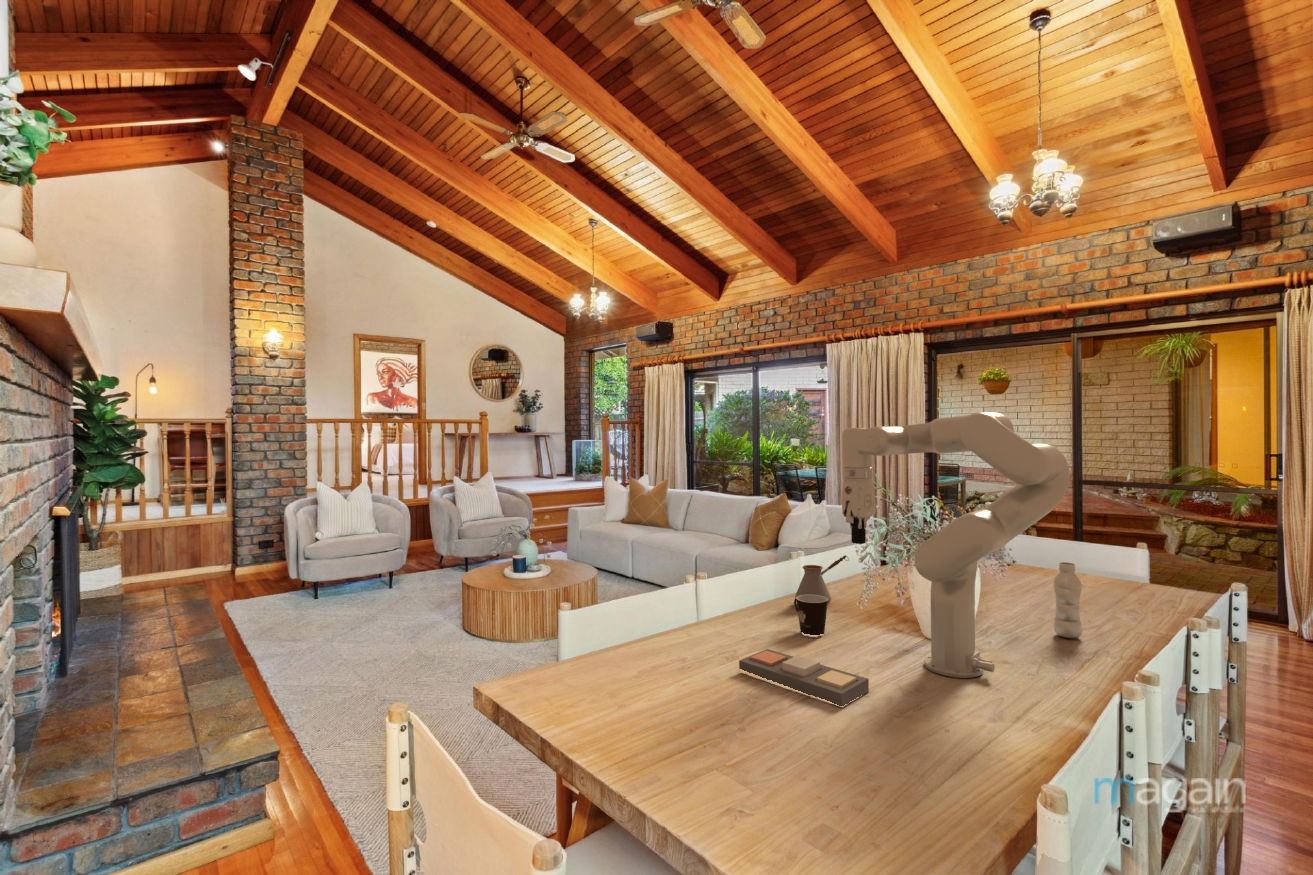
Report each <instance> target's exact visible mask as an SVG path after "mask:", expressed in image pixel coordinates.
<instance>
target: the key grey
mask: <svg viewBox="0 0 1313 875" xmlns="http://www.w3.org/2000/svg"><path fill="white" fill-rule="evenodd" d="M820 663H821V662H820V661H817V660H814V659H811V658H807V657H804V656H801V655H796V656H793V658H791V659H788V660H786V661H784V662H782V670H784V671H787V672H790V673H793V674H796V675H799V676H802V677H808V676H810V675H812V674H814V673H816V672H818V671H820V665H821V664H820Z"/></svg>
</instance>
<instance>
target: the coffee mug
mask: <svg viewBox="0 0 1313 875" xmlns="http://www.w3.org/2000/svg"><path fill="white" fill-rule="evenodd" d="M827 602H828V599H827V598H826V597H824V596H819V595H800V596H797V597H796V598H795V597H794V601H793V607H795V610H796V613H797V615H798V622H799V628H800V630H801V631H800V633H801V632H803V633H804V634H810V635H820V634H824V635H825V632H826V631H825V629H826V621H827V612H828V605H827Z"/></svg>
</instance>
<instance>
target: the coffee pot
mask: <svg viewBox="0 0 1313 875" xmlns="http://www.w3.org/2000/svg"><path fill="white" fill-rule="evenodd" d="M846 558H847V559H846ZM844 560H845V561H846V562H849V561H850V558H849V557H848V556H847V555H843V556H842V557H840V558H839V559H837V560H834V562H832V563H831V564H830V565H829V566H828V567H827V568H825V569H824V567H823V566H821V565H817V564H805V565H803V566H802V569H803V570H804V574H803V576H802V579H801V581H800V584H799V586H798V588H797V591H796V593H795V595H794V599H795V598H796V597H797V596H800V595H819V596H824V597H826V598H827V599H828V602H827V606H828V605H829V604H830V602H831V601H832V596H831V594H830V592H829V590H828V587H827V585H826V583H825V579H824V578H823V575H824V574H825V573H827V572H828V571H829V570H831V569H833V568H835V567H836V566H837V565H839V563H841V562H843V561H844ZM823 569H824V570H823Z"/></svg>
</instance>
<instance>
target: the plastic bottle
mask: <svg viewBox="0 0 1313 875" xmlns="http://www.w3.org/2000/svg"><path fill="white" fill-rule="evenodd" d="M1058 570H1059V572H1058V574H1057V575H1056V576H1055V577H1054V579H1053V589H1054V595H1055V605H1056V606H1055V617H1054V619H1053V620H1054V621H1053V629H1054V630H1053V631H1054V632H1055V634H1056V635H1057V636H1060V637H1062V638H1066V639H1079V638H1080V637H1082V633H1083V627H1082V621H1081V614H1080V600H1081V592H1082V585H1083V584H1082V582H1081V580H1080V579H1079V577H1078V576H1077V574H1076V573H1075V572H1076V564H1075V563H1073V562H1069V561H1068V562H1066V561H1065V562H1063V561H1062V562H1059V563H1058Z"/></svg>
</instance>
